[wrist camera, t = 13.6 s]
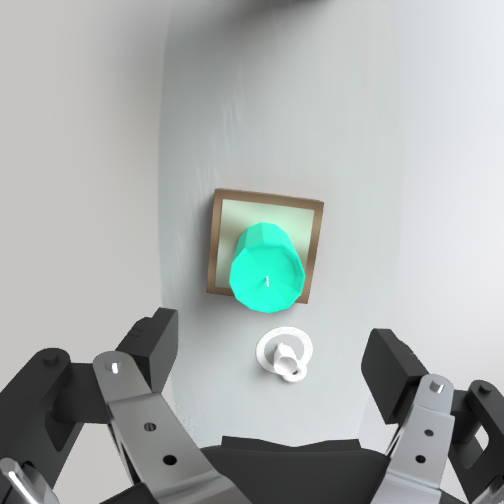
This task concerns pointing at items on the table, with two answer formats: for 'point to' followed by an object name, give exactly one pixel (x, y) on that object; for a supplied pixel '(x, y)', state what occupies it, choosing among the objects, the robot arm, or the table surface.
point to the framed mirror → (255, 211)
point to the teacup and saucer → (285, 355)
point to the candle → (266, 269)
